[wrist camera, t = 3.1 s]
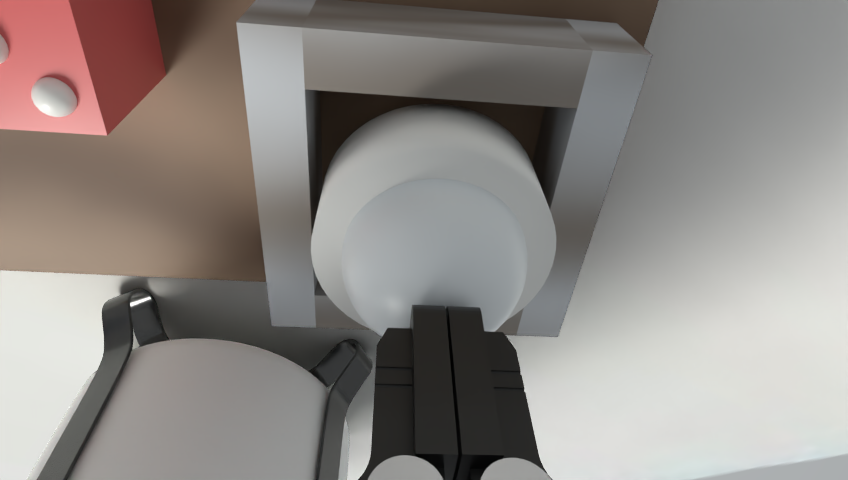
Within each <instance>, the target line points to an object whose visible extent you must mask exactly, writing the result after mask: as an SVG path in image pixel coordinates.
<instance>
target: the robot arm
mask: <svg viewBox="0 0 848 480" xmlns="http://www.w3.org/2000/svg"><path fill="white" fill-rule="evenodd" d="M358 480H552V479H551V478H550V476H549V475H548V474H547V472H546V471H545V469H544V468H543V465H542V463H541V461H540V458H539V454H538V450H537V445H536V440H535V436H534V431H533V426H532V422H531V417H530V413H529V408H528V403H527V399H526V394H525V392H524V385H523V380H522V376H521V375H520V366H519V362H518V357H517V352H516V350H515V348H514V347H513V345H512V344H511V343H510V341H509V340H508V339H507V337H506V336H505V334H504V333H503V332H489V331H484V325H483V319H482V313H481V309H480V308H479V307H459V306H447V307H446V309H445V306H432V305H412V309H411V318H410V328H387V330H386V331H385V333H384V335H383V336H382V338H381V340H380V341H379V343H378V345H377V356H376V374H375V393H374V411H373V429H372V448H371V457H370V460H369V464H368V466H367V468H366V470H365V472H364V473H363V474H362V476H361V477H360V478H359V479H358Z"/></svg>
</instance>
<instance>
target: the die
mask: <svg viewBox="0 0 848 480" xmlns="http://www.w3.org/2000/svg"><path fill="white" fill-rule="evenodd" d="M165 76H166V72H165V67H164V62H163V57H162V52H161V47H160V42H159V37H158V32H157V27H156V22H155V17H154V12H153V7H152V2H151V0H0V129H10V130H26V131H42V132H58V133H74V134H90V135H106V136H107V135H108V134H109V133H110V132H111V131H112V130H113V129H114V128H115V127H116V126H117V125H118V124H119V123H120V122H121V121H122V120H123V119H124V118H125V117H126V116H127V115H128V114H129V113H130V112H131V111H132V110H133V109H134V108H135V107H136V106H137V105H138V104H139V103H140V102H141V101H142V100H143V99H144V98H145V97H146V96H147V94H148V93H149V92H150V91H151V90H152V89H153V88H154V87H155V86H156V85H157V84H158V83H159V82H160V81H161V80H162V79H163V78H164V77H165Z"/></svg>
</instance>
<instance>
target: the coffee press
mask: <svg viewBox="0 0 848 480" xmlns="http://www.w3.org/2000/svg"><path fill="white" fill-rule="evenodd" d="M102 321H103V331H104V354H103V358H102V361H101V363H100V366H99V368H98V370H97V371H96V372H95V373H93V374H92V375H91V376H90V378H89V379H88V380H87V381H86V382H85V384H84V385H83V386H82V388H81V389H80V391H79V392H78V394H77V395H76V397H75V399H74V400H73V402H72V404H71V405H70V407H69V408H68V410H67V412H66V413H65V415H64V417H63V418H62V420H61V422H60V423H59V425H58V427H57V429H56V430H55V432H54V434H53V435H52V437H51V439H50V440H49V442H48V444H47V445H46V447H45V449H44V451H43V452H42V454H41V456H40V457H39V459H38V461H37V462H36V464H35V466H34V468H33V469H32V471H31V473H30V474H29V476H28V478H27V480H347V471H348V457H349V430H348V425H347V421H346V418H345V416H346V412H347V409H348V406H349V404H350V403H351V401H352V399H353V397H354V396H355V394H356V393H357V391H358V390H359V388H360V387H361V385H362V384H363V383H364V381H365V380H366V378H367V377H368V375H369V374H370V372H371V370H372V361H371V359H370V358H369V357H368V355H367V354H366V353H365V351H364V350H363V349H362V347H361V346H360V345H359V343H358V342H357V341H356V340H353V339H348V340H344V341H342V342H340V343H339V344H337V345H336V346H335V347H334V348H333V349H332V350H331V351H330V352H329V353H328V354H327V356H326V357H325V358H324V359H323V360H322V361H321V362H320V363H319V364H318V365H317V366H315V367H314V368H313V369H311V370H310V371H307V370H305V369H304V368H302V367H301V366H299V365H297V364H296V363H294V362H292V361H290V360H288V359H286V358H284V357H282V356H280V355H277V354H275V353H272V352H270V351H267V350H264V349H261V348H258V347H254V346H251V345H247V344H243V343H238V342H232V341H226V340H217V339H199V338H194V339H176V340H170V339H169V338H168V337H167V335H166V333H165V331H164V328H163V326H162V323H161V319H160V315H159V311H158V307H157V304H156V302H155V300H154V298H153V296H152V295H151V294H150V293H149V292H147V291H146V290H144V289H135V290H132V291H130V292H127V293H125V294H122V295H120V296H117V297H115V298H112V299H110V300H108V301H107V302H106V303H105V304H104V306H103V308H102ZM133 329H134V333H135V336H136V338H137V341H138V343H139V345H140V347H139V348H136V349H133V350H132V347H133ZM335 381H336V382H335ZM334 382H335V383H334ZM332 383H334V385H333V387H332V389H331V391H329V390H328V389H327V387H329V386H330V385H331V384H332Z"/></svg>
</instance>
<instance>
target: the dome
mask: <svg viewBox="0 0 848 480" xmlns="http://www.w3.org/2000/svg"><path fill="white" fill-rule="evenodd" d="M555 252H556V231H555V225H554V221H553V218H552V215H551V212H550V209H549V206H548V204H547V201H546V199H545V196H544V194H543V191H542V188H541V186H540V183H539V181H538V178H537V175H536V173H535V170H534V168H533V165H532V163H531V161H530V159H529V157H528V155H527V153H526V151H525V150H524V148H523V147H522V145H521V144H520V142H519V141H518V140H517V139H516V138H515V137H514V136H513V135H512V134H511V133H510V132H509V131H508V130H507V129H505V128H504V127H503V126H502V125H500V124H499V123H497V122H496V121H494V120H492V119H491V118H489V117H487V116H485V115H483V114H480V113H478V112H475V111H473V110H470V109H466V108H462V107H459V106H453V105H445V104H421V105H412V106H407V107H403V108H399V109H395V110H392V111H390V112H387V113H384V114H382V115H380V116H378V117H376V118H374V119H372V120H370V121H368V122H367V123H365V124H364V125H363V126H361V127H360V128H358V129H357V130H356V131H355V132H353V133H352V134H351V135H350V136H349V137H348V138H347V139H346V140H345V141H344V143H343V144H342V145H341V146H340V148H339V149H338V150H337V152H336V153H335V155H334V157H333V159H332V160H331V162H330V164H329V167H328V170H327V172H326V175H325V179H324V184H323V188H322V193H321V197H320V201H319V206H318V210H317V215H316V219H315V223H314V228H313V233H312V238H311V257H312V264H313V267H314V271H315V274H316V277H317V279H318V281H319V283H320V285H321V287H322V289H323V290H324V292H325V293H326V295H327V296H328V297H329V299H330V300H331V301H332V302H333V303H334V304H335V305H336V306H337V307H338V308H339V309H340V310H341V311H342V312H343V313H345V314H346V315H347V316H348V317H350V318H351V319H353V320H354V321H356V322H357V323H359V324H361V325H363V326H365V327H367V328H369V329H371V330H373V331H374V332H376V333H377V334H378V335H379V336H381V337H382V336H383V335H384V333H385V331H386V330H387V328H410V318H411V309H412V305H432V306H445V309H446V307H447V306H459V307H479V308H480V309H481V313H482V319H483V325H484V331H489V332H495V331H496V330H497V329H498V328H499V327H500V326H501V325H502V324H503V323H504V322H505V321H506V320H508V319H509V318H511V317H512V316H514V315H515V314H517V313H518V312H519V311H520V310H522V309H523V308H524V307H525V306H526V305H527V304H528V303H529V302H530V301H531V300H532V299H533V298H534V297H535V296H536V294H537V293H538V292H539V290H540V289H541V288H542V286H543V285H544V283H545V281H546V279H547V277H548V276H549V273H550V270H551V268H552V265H553V262H554V257H555Z"/></svg>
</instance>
